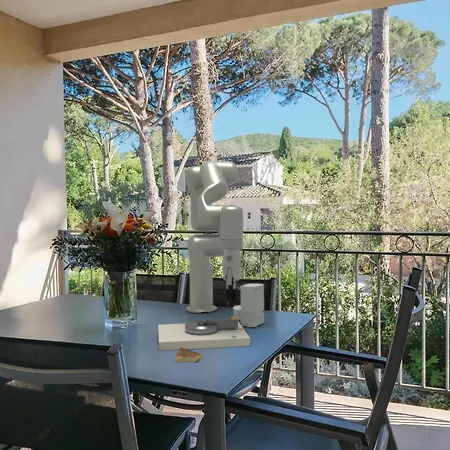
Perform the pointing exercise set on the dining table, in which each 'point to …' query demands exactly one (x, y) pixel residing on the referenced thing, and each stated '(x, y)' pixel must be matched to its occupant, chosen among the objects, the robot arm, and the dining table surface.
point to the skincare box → (252, 305)
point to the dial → (211, 325)
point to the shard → (187, 356)
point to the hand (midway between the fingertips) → (231, 300)
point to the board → (200, 338)
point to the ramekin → (237, 311)
